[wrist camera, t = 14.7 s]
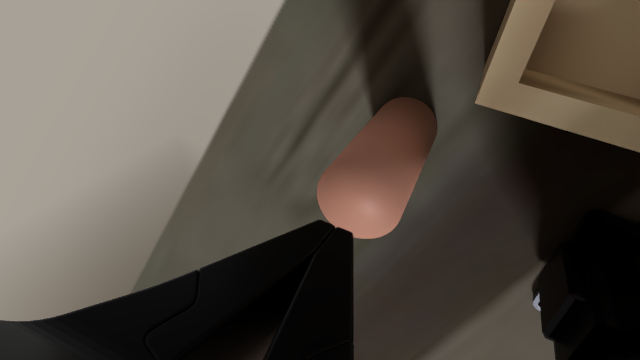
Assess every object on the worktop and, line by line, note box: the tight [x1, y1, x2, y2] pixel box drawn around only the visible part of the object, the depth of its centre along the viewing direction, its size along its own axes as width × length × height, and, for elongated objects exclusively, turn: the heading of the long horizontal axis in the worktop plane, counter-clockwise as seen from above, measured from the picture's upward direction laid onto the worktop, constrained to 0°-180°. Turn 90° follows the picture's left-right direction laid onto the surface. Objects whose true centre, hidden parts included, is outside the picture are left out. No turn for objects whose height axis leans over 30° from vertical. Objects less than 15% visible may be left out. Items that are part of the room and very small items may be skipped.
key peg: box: [317, 97, 437, 239], centre depth 18 cm, size 3×3×8 cm
